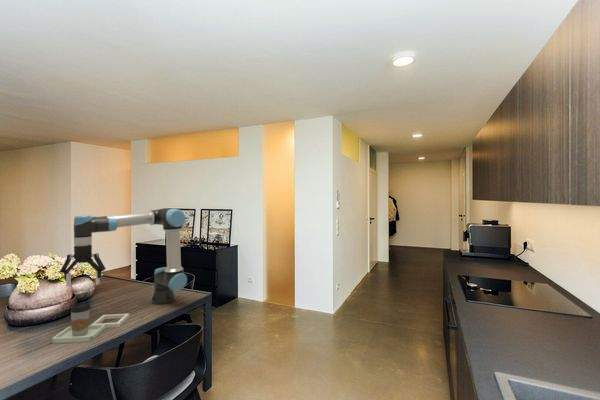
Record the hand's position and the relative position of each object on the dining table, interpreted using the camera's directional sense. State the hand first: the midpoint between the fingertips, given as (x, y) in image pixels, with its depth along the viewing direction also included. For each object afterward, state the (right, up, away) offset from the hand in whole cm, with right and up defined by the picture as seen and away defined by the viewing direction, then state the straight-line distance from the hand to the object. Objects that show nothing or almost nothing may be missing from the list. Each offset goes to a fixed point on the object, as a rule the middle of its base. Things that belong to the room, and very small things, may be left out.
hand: (83, 285), depth 151 cm
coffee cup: (+1, -25, -3) cm, 25 cm away
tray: (+1, -25, -3) cm, 25 cm away
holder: (+6, -25, +13) cm, 29 cm away
